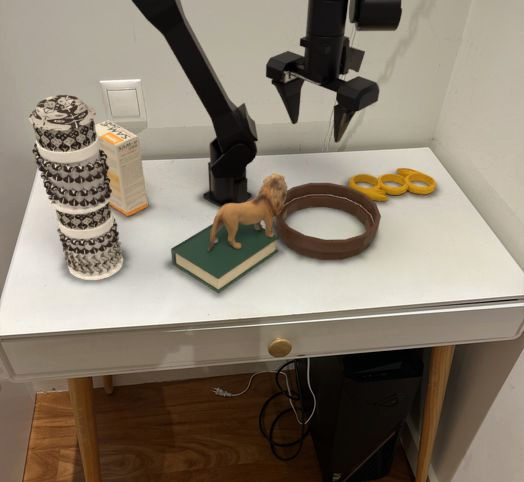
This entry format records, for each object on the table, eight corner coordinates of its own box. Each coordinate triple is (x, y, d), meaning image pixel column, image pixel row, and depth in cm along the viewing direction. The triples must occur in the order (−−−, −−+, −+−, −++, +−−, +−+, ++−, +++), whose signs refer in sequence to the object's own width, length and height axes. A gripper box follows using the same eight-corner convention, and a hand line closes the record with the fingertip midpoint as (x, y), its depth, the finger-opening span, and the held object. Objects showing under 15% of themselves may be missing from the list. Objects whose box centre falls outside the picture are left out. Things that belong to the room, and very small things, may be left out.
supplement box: (149, 206, 99) (140, 135, 90) (127, 217, 97) (115, 145, 87) (120, 188, 103) (109, 118, 93) (98, 198, 101) (84, 127, 91)
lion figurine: (271, 214, 94) (274, 164, 87) (292, 229, 91) (297, 179, 85) (198, 245, 87) (195, 194, 81) (218, 263, 84) (217, 211, 78)
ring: (252, 231, 95) (253, 211, 92) (314, 191, 105) (317, 172, 102) (336, 276, 88) (339, 256, 85) (394, 229, 97) (399, 209, 94)
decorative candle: (55, 258, 89) (8, 98, 70) (108, 238, 93) (77, 82, 74) (80, 289, 84) (37, 127, 66) (136, 267, 88) (110, 107, 70)
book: (172, 264, 89) (170, 248, 87) (232, 226, 96) (232, 211, 94) (218, 293, 84) (218, 277, 82) (278, 251, 92) (279, 236, 90)
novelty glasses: (442, 201, 104) (426, 173, 111) (444, 193, 103) (428, 166, 110) (353, 203, 103) (343, 174, 109) (355, 195, 101) (344, 167, 108)
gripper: (408, 33, 83) (388, 135, 95) (311, 4, 92) (303, 100, 103) (364, 53, 78) (349, 158, 89) (264, 19, 86) (262, 120, 97)
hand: (315, 132), depth 95 cm, fingers open, 9 cm apart
